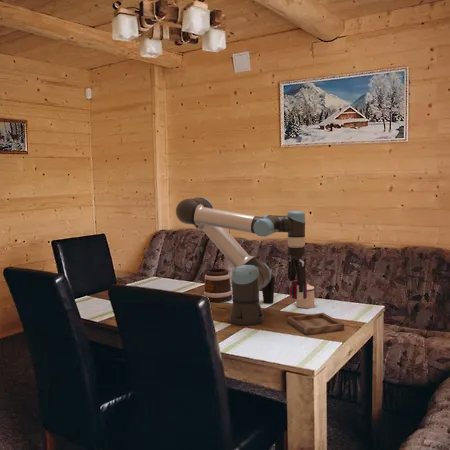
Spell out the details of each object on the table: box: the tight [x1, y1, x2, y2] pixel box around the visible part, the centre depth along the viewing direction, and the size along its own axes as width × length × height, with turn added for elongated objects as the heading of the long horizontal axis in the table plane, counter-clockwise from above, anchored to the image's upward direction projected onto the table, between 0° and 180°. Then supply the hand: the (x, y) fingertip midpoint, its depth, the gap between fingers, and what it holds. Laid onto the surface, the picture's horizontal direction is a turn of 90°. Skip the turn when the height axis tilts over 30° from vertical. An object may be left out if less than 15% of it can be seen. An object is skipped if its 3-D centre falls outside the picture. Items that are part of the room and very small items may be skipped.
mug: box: [203, 268, 233, 303], centre depth 259 cm, size 20×15×15 cm
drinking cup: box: [261, 262, 276, 305], centre depth 247 cm, size 8×8×20 cm
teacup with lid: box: [294, 283, 316, 309], centre depth 239 cm, size 12×9×12 cm
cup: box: [289, 280, 308, 300], centre depth 221 cm, size 7×10×7 cm
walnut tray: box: [286, 312, 345, 336], centre depth 207 cm, size 17×18×2 cm
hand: (296, 297), depth 222 cm, fingers closed on cup, 7 cm apart
